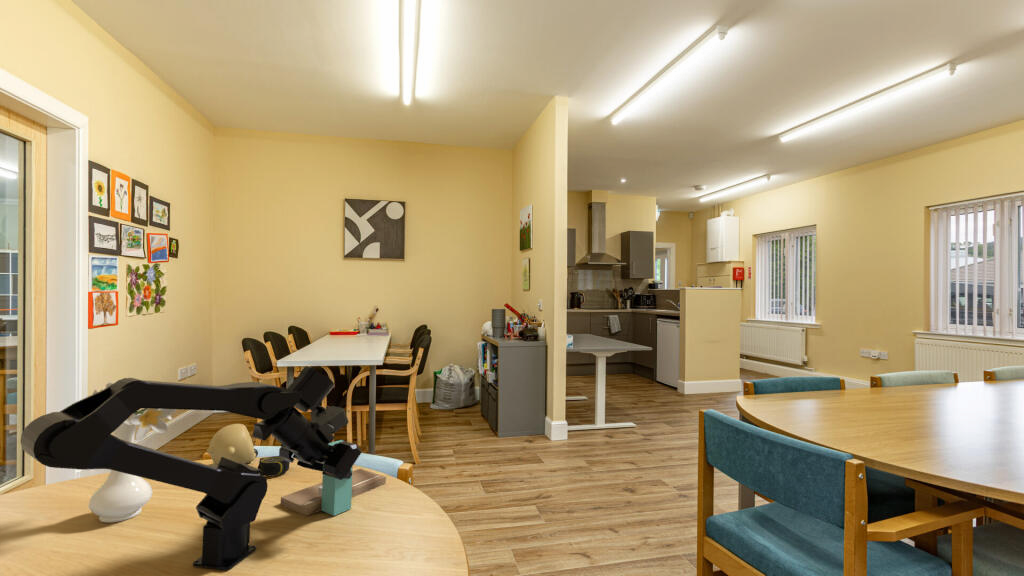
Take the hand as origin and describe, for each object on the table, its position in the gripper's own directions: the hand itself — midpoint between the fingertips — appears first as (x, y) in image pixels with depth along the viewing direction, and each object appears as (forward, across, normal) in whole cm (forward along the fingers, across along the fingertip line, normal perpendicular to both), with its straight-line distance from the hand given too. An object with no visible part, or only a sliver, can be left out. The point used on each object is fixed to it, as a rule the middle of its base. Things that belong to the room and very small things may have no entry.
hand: (343, 474), depth 93 cm
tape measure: (+7, +30, +3) cm, 31 cm away
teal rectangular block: (+4, +1, +6) cm, 7 cm away
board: (+7, +7, +2) cm, 10 cm away
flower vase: (-13, +31, +23) cm, 41 cm away
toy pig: (+4, +42, +6) cm, 42 cm away
